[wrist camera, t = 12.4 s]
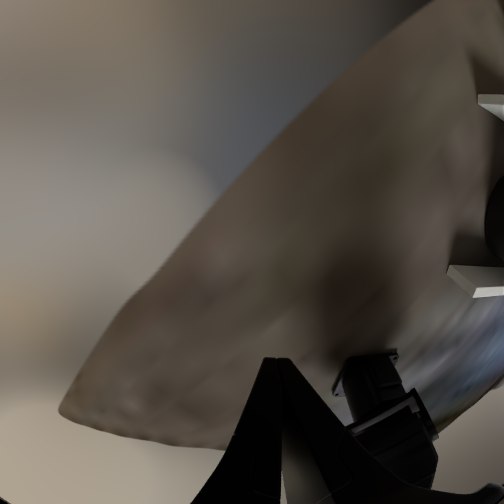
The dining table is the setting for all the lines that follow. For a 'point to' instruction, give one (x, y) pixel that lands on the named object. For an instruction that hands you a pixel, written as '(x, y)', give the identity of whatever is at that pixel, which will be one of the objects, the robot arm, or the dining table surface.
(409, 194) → the dining table surface
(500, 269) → the tray
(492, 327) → the dining table surface
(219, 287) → the dining table surface
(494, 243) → the mug
